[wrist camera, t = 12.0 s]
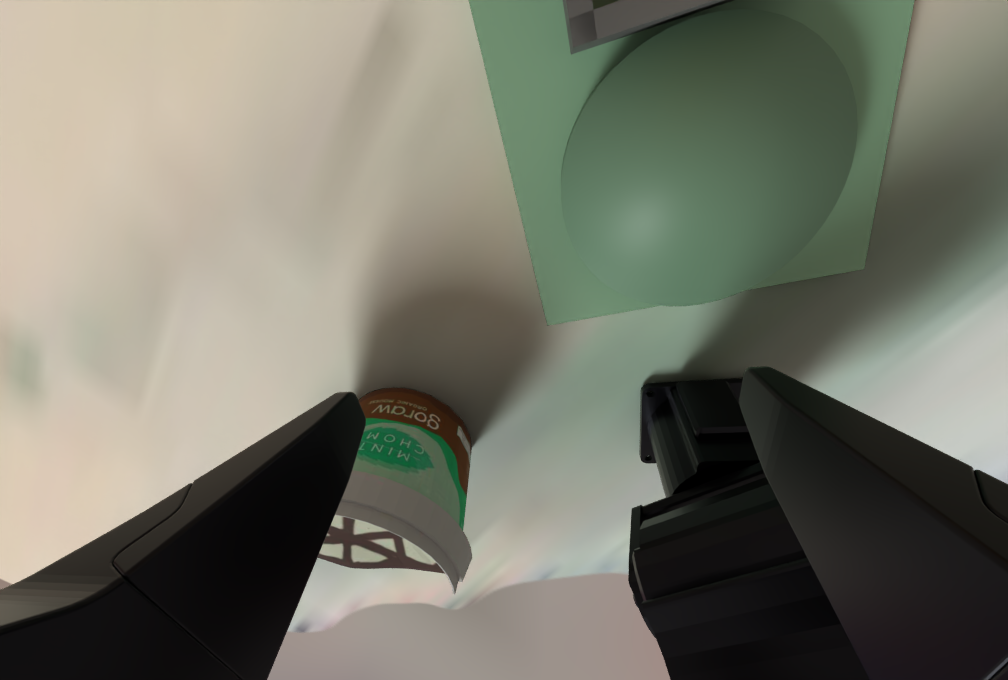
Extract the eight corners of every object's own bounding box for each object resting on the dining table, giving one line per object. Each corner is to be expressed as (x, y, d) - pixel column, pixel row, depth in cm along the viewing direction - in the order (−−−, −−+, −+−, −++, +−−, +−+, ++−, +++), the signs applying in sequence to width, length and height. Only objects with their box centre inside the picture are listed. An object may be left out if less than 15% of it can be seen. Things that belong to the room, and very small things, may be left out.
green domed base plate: (850, 261, 19) (904, 291, 16) (547, 317, 23) (546, 349, 20) (977, -495, 10) (1161, -755, 7) (423, -203, 13) (384, -292, 10)
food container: (494, 383, 26) (463, 523, 17) (491, 450, 29) (464, 596, 20) (312, 364, 27) (197, 488, 18) (329, 431, 30) (239, 563, 21)
